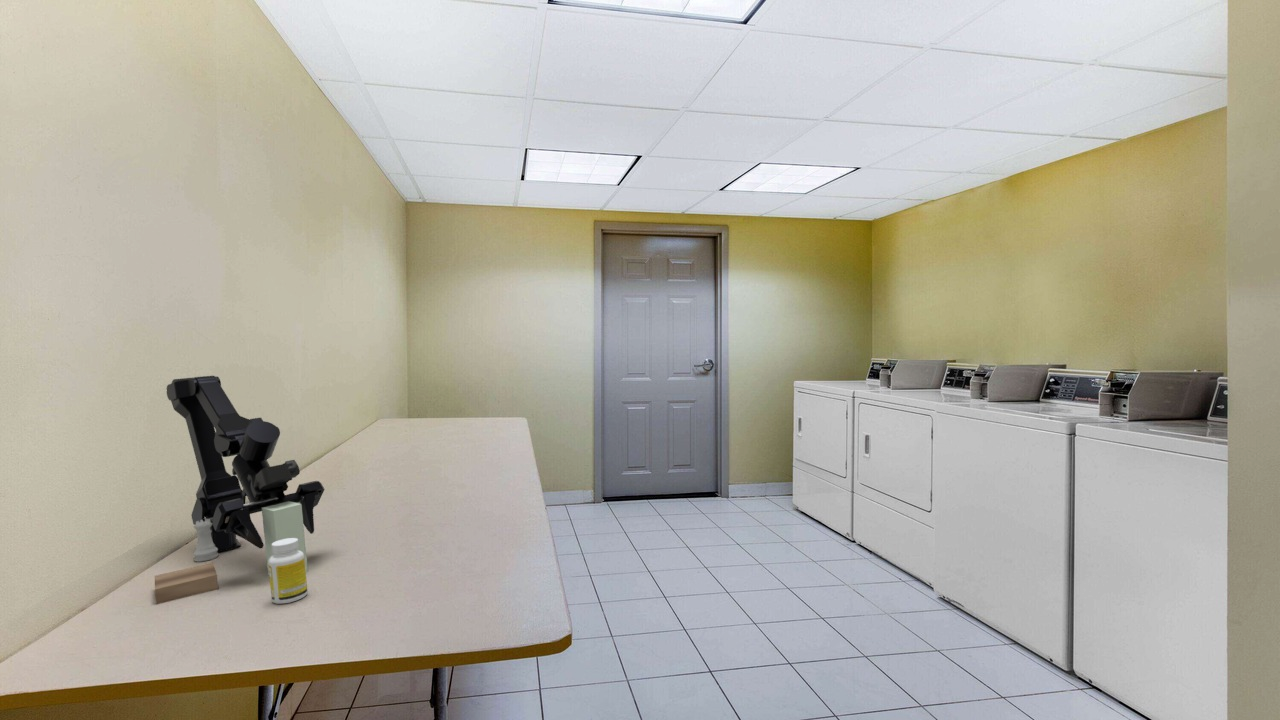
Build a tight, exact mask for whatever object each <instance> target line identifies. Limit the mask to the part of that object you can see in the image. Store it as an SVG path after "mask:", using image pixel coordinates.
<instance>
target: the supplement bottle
mask: <svg viewBox="0 0 1280 720" xmlns="http://www.w3.org/2000/svg"><path fill="white" fill-rule="evenodd" d="M298 546H299V544H298V539H297V538H287V539H282V540H278V541H276V542H274V543H272V553H274V555H273V556H271V557H270V559H269V561H268V566H269V576H268V577H269V583H270V584H269V586H270V594H271V601H272V603H274V604H279V605H280V604H281V605H282V604H283V605H284V604H289V603H293V602H297V601H298V600H302V599H303V598H304V597H306V596H307V595H308V583H307V572H306V571H305V559H304V554H303V552H301V551H299V550H297V548H298Z"/></svg>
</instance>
